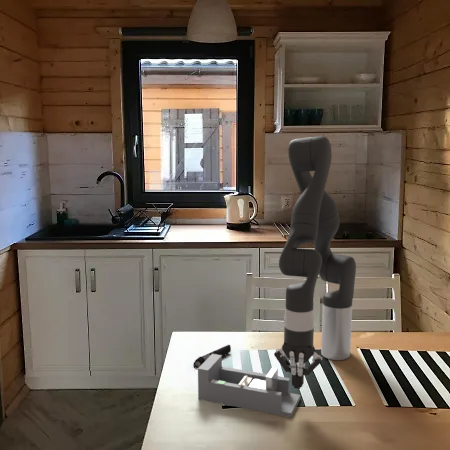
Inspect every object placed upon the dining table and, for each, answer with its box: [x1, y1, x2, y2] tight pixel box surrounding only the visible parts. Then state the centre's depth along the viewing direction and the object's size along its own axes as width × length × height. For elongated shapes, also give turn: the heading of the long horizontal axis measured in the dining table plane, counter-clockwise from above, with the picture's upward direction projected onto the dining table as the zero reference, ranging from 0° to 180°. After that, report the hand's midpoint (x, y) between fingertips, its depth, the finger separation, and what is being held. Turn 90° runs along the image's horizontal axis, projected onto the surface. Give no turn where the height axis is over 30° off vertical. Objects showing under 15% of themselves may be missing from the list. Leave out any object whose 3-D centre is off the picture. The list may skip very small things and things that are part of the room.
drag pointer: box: [238, 376, 253, 386], centre depth 145 cm, size 8×2×5 cm, turn 159°
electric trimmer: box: [193, 344, 232, 369], centre depth 171 cm, size 4×16×3 cm, turn 139°
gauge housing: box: [197, 354, 301, 418], centre depth 146 cm, size 10×26×9 cm, turn 69°
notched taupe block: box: [249, 366, 279, 391], centre depth 144 cm, size 6×7×8 cm
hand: (297, 387), depth 141 cm, fingers closed
